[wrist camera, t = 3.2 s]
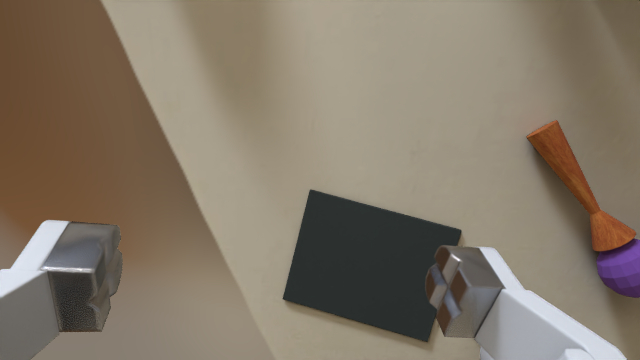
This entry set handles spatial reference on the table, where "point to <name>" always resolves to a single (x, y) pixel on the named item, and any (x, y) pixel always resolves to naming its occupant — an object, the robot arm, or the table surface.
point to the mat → (366, 264)
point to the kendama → (594, 215)
